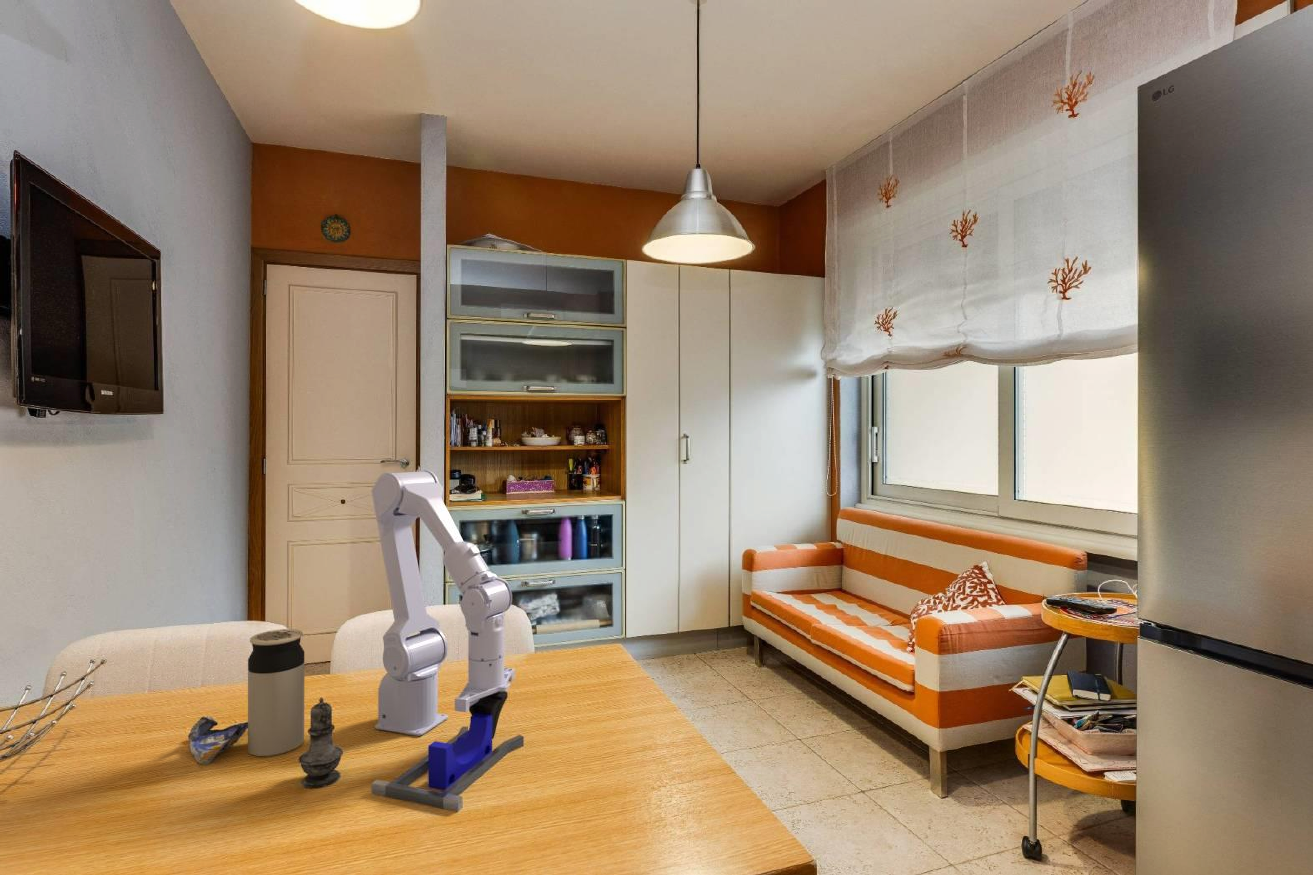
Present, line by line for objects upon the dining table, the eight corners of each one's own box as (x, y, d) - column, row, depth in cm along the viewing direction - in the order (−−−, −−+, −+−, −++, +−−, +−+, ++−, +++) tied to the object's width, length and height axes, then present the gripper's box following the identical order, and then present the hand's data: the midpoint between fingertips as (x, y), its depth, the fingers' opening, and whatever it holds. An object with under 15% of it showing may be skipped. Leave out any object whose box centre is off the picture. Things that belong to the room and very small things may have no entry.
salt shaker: (298, 793, 95) (298, 708, 95) (298, 774, 100) (298, 693, 100) (344, 783, 97) (344, 700, 97) (342, 765, 103) (342, 687, 103)
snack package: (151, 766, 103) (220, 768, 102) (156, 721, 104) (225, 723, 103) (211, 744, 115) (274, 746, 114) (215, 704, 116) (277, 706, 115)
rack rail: (371, 793, 95) (371, 783, 95) (456, 733, 114) (456, 724, 114) (458, 811, 90) (458, 800, 90) (531, 745, 109) (531, 736, 109)
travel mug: (264, 762, 103) (264, 645, 103) (237, 749, 108) (238, 637, 108) (314, 742, 110) (314, 633, 110) (287, 731, 114) (287, 625, 114)
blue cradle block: (467, 748, 108) (467, 711, 108) (492, 752, 107) (492, 715, 107) (419, 785, 97) (419, 744, 97) (446, 790, 95) (446, 748, 95)
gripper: (483, 673, 101) (482, 763, 101) (530, 644, 115) (530, 724, 115) (443, 668, 103) (443, 756, 104) (494, 640, 117) (494, 718, 117)
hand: (486, 738), depth 109 cm, fingers closed
